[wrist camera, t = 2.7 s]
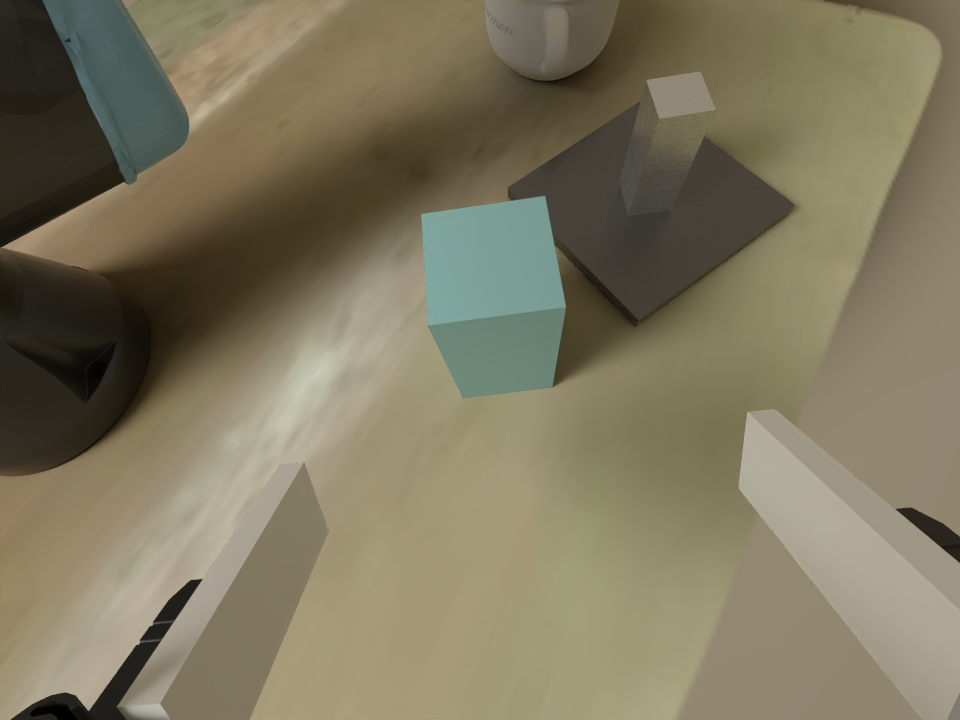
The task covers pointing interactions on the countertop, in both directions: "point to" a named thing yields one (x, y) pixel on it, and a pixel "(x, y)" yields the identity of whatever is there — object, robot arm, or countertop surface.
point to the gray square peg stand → (652, 199)
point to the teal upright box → (494, 295)
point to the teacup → (549, 34)
